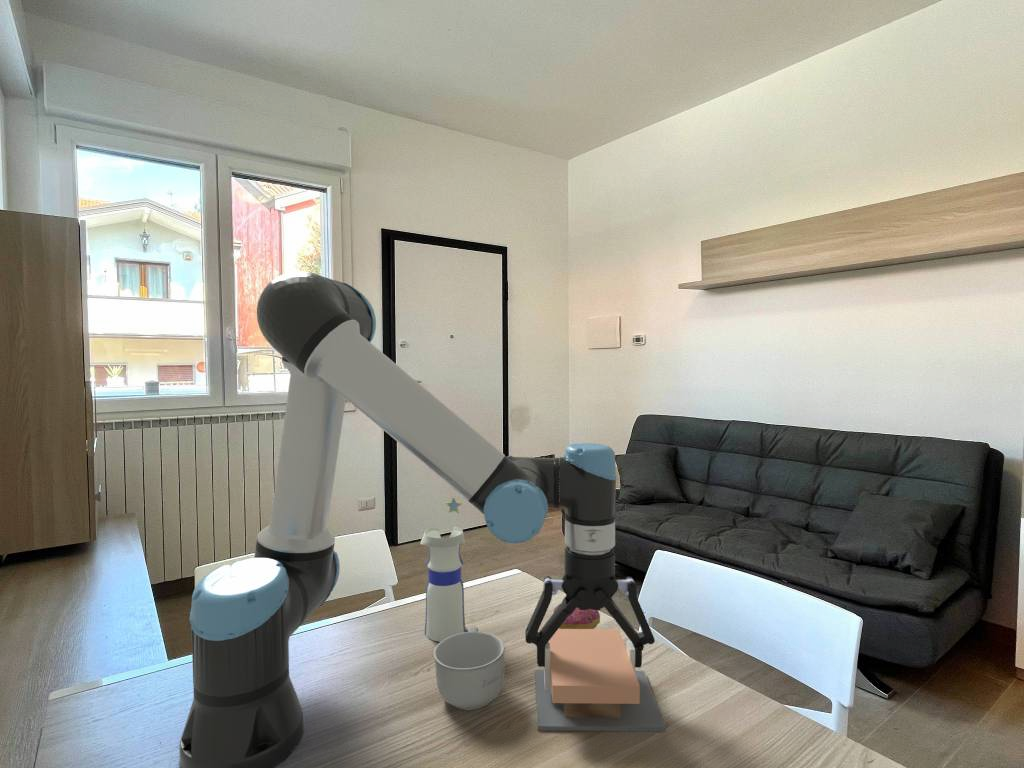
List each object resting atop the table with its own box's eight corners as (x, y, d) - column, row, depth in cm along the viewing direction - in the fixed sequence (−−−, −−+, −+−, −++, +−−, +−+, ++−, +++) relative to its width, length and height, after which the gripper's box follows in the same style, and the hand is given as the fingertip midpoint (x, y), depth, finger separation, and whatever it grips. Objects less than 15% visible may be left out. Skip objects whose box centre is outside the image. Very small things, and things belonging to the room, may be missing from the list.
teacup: (495, 724, 79) (495, 670, 79) (423, 715, 82) (423, 661, 81) (514, 670, 93) (514, 624, 93) (452, 663, 95) (452, 617, 95)
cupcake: (543, 639, 103) (544, 575, 103) (574, 624, 109) (574, 564, 108) (578, 657, 97) (579, 590, 96) (609, 641, 103) (609, 577, 102)
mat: (537, 730, 78) (537, 726, 78) (534, 673, 92) (534, 670, 92) (666, 731, 78) (666, 727, 78) (643, 674, 92) (643, 670, 92)
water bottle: (422, 621, 110) (421, 497, 109) (465, 619, 111) (465, 496, 110) (419, 643, 102) (418, 508, 101) (466, 640, 103) (466, 507, 101)
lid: (552, 703, 77) (552, 685, 77) (546, 643, 93) (546, 628, 93) (639, 703, 77) (639, 686, 77) (618, 643, 93) (618, 629, 93)
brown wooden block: (565, 717, 80) (565, 690, 80) (560, 677, 90) (560, 653, 90) (620, 717, 80) (621, 690, 80) (609, 677, 90) (609, 653, 90)
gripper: (508, 555, 80) (508, 700, 81) (677, 556, 80) (675, 702, 81) (509, 538, 88) (509, 671, 89) (663, 539, 87) (661, 672, 89)
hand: (588, 686), depth 85 cm, fingers closed on lid, 12 cm apart
